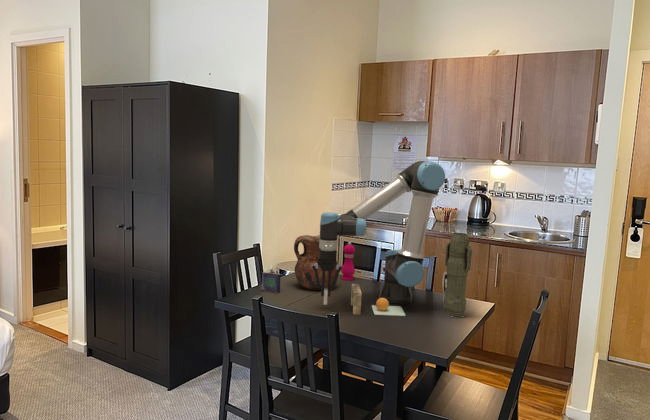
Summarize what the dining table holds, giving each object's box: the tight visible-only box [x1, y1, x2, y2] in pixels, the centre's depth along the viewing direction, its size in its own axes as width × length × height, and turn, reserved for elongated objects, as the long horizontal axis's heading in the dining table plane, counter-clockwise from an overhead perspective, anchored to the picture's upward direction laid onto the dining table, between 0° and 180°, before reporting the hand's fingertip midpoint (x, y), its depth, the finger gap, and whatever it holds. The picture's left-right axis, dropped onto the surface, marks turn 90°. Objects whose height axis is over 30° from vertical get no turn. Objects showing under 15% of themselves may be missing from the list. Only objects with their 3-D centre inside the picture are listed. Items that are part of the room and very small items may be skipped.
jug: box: [293, 234, 337, 291], centre depth 256 cm, size 22×21×25 cm
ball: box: [375, 297, 390, 311], centre depth 223 cm, size 6×6×6 cm
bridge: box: [350, 283, 363, 316], centre depth 223 cm, size 3×14×9 cm, turn 1°
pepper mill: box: [340, 241, 356, 282], centre depth 275 cm, size 7×7×20 cm
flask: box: [261, 268, 281, 294], centre depth 244 cm, size 9×3×11 cm, turn 71°
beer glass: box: [441, 271, 447, 306], centre depth 234 cm, size 7×7×15 cm
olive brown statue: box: [443, 232, 473, 318], centre depth 220 cm, size 9×12×35 cm
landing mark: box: [371, 304, 406, 317], centre depth 223 cm, size 13×13×1 cm
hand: (325, 303), depth 222 cm, fingers closed
